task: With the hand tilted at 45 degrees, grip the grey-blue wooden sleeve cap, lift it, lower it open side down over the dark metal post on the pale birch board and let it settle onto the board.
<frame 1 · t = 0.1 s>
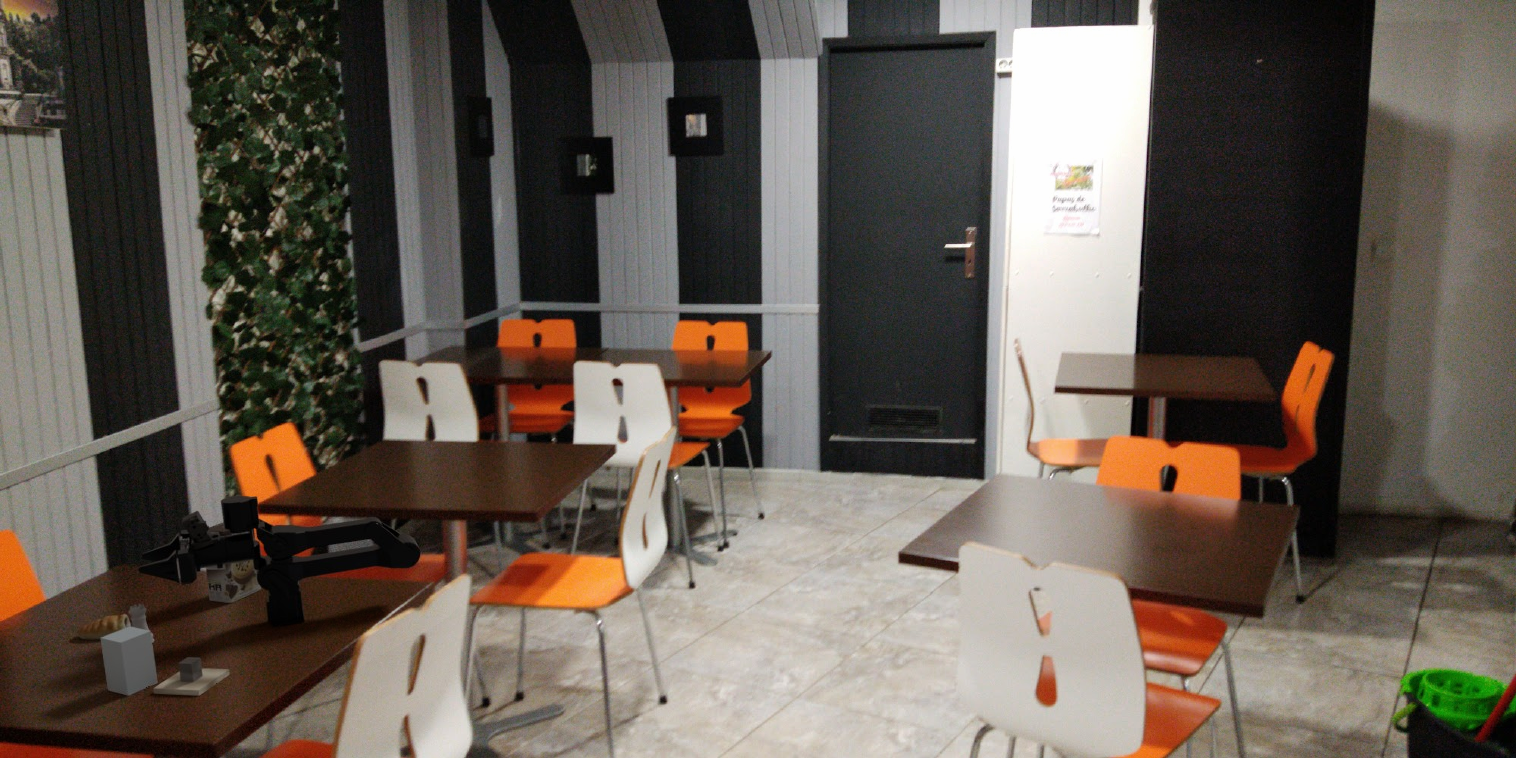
hand: (140, 563, 238), 17 cm above the table, tool horizontal, fingers open, 9 cm apart
pastry: (108, 635, 247), on the table
sleeve cap: (132, 686, 220), on the table
rook chess piece: (142, 645, 240), on the table
post board: (192, 683, 220), on the table
coffee box: (236, 596, 267), on the table
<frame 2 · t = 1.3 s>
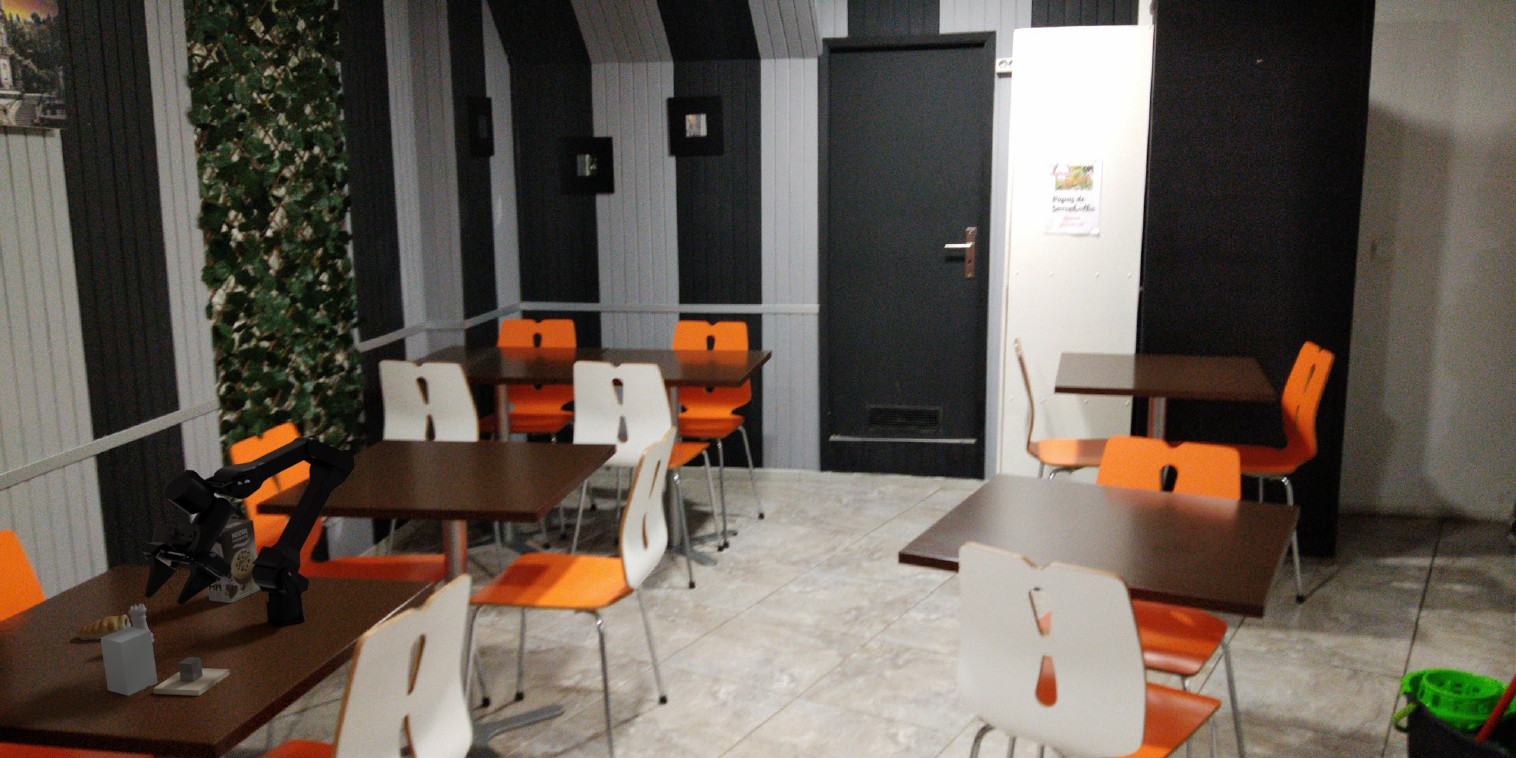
hand: (162, 600, 225), 14 cm above the table, tool tilted 45°, fingers open, 9 cm apart
nothing on the table moved.
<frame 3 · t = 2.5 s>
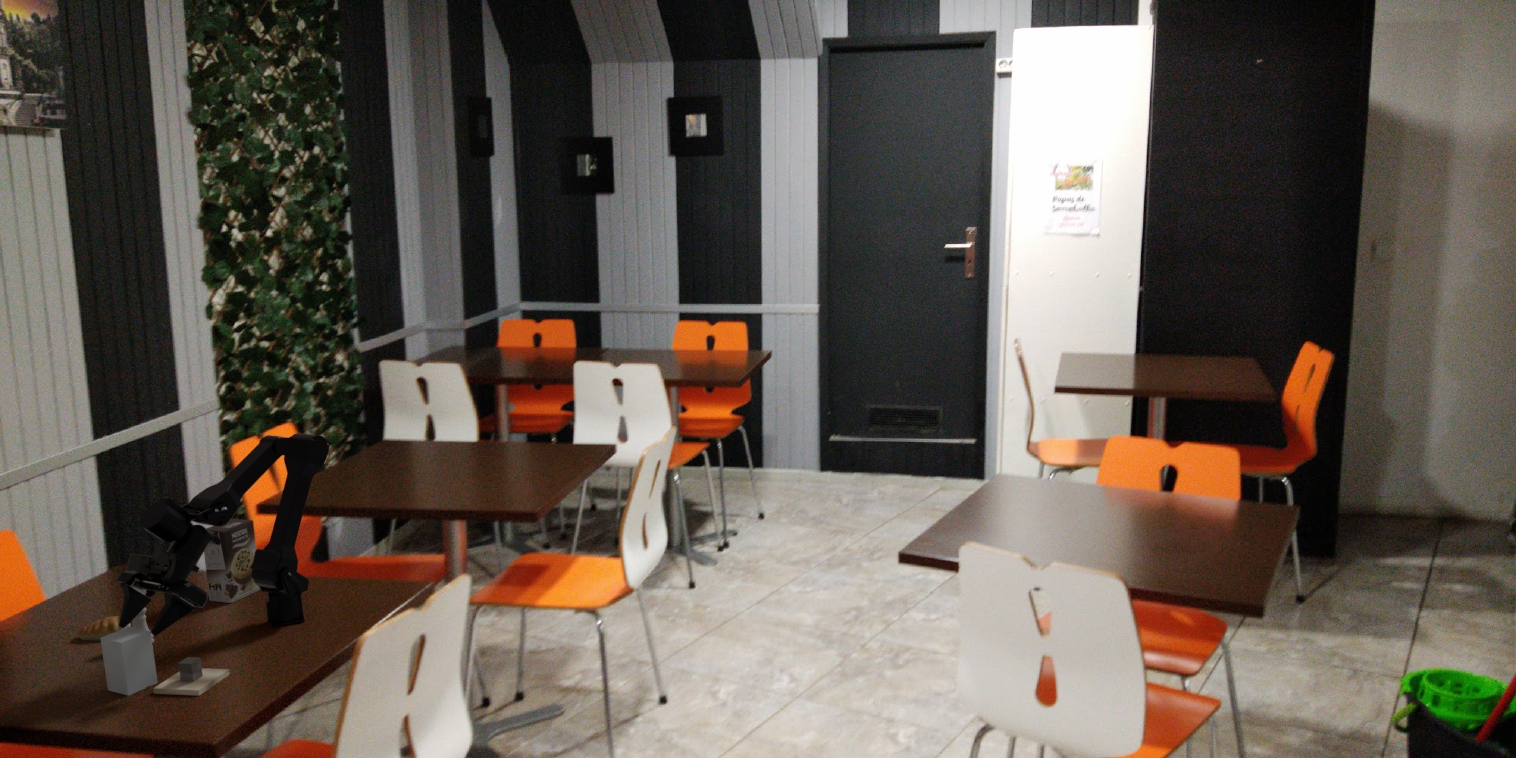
hand: (136, 630, 220), 10 cm above the table, tool tilted 45°, fingers open, 9 cm apart
nothing on the table moved.
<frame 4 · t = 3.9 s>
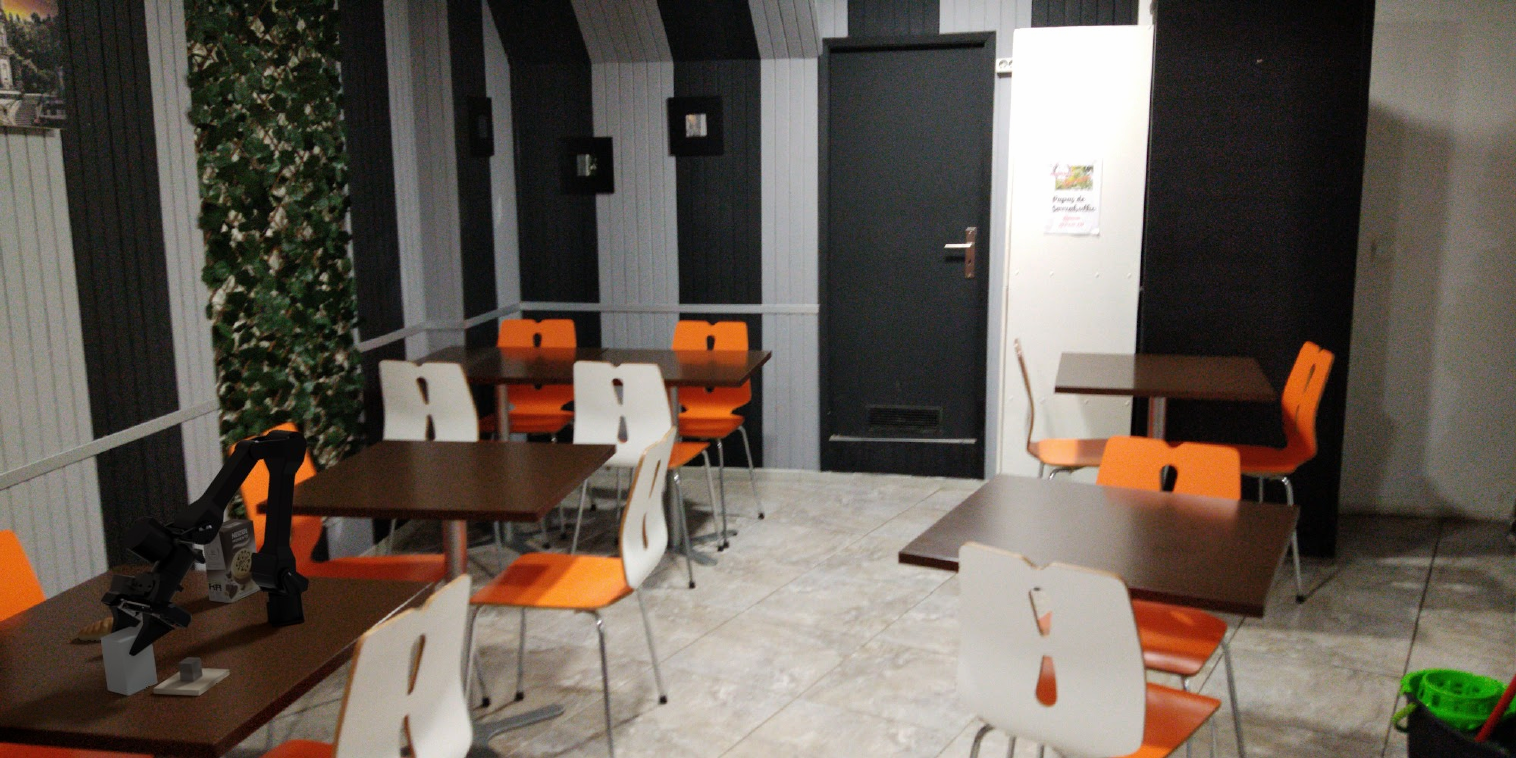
hand: (120, 652, 218), 7 cm above the table, tool tilted 45°, fingers closed on sleeve cap, 6 cm apart
sleeve cap: (132, 686, 220), on the table, touching gripper
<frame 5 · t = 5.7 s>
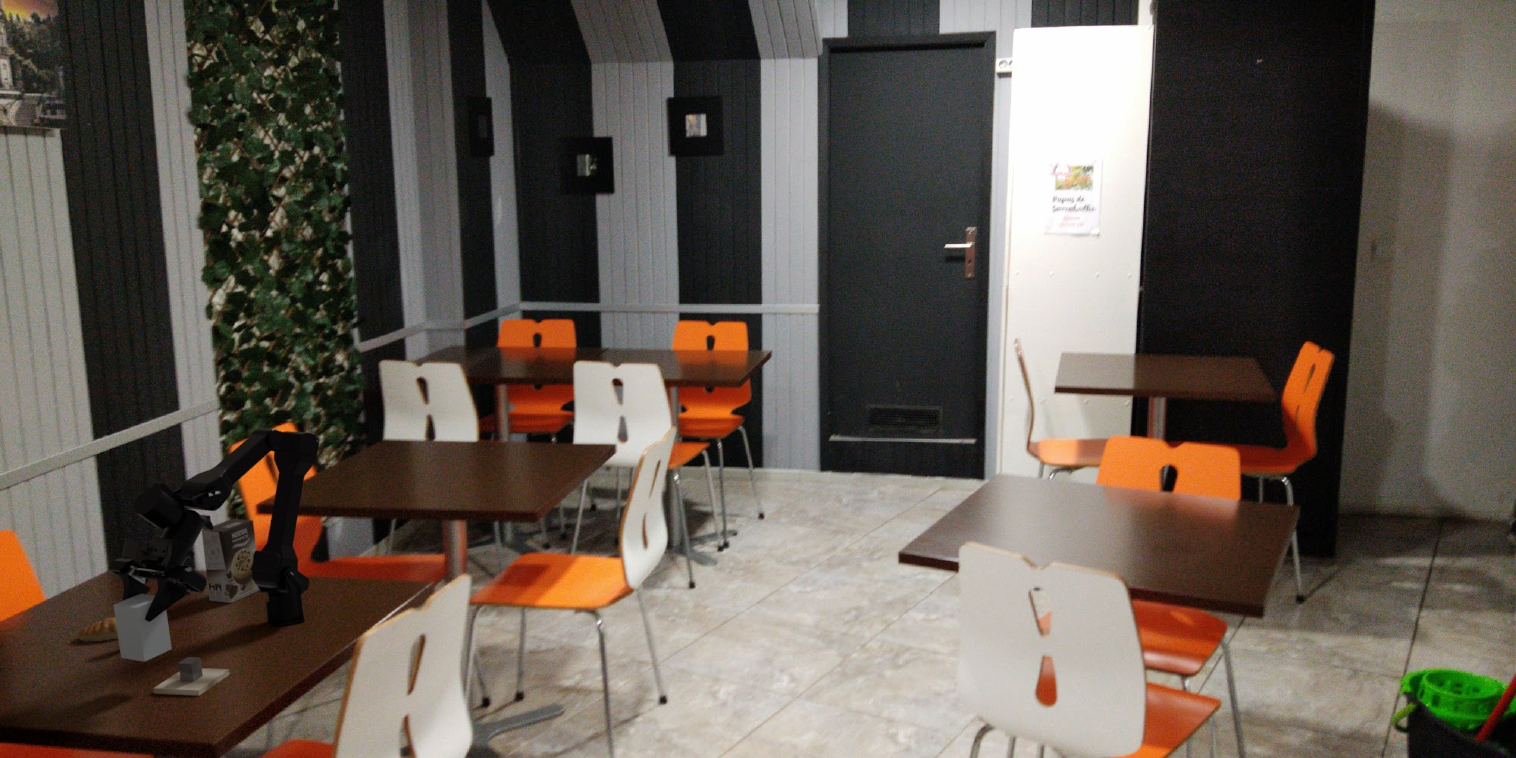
hand: (134, 618, 216), 13 cm above the table, tool tilted 45°, fingers closed on sleeve cap, 6 cm apart
sleeve cap: (146, 653, 219), point 6 cm above the table, touching gripper
when the fingers open (9 cm above the table, at t = 7.8 s): sleeve cap stays where it is, resting on post board.
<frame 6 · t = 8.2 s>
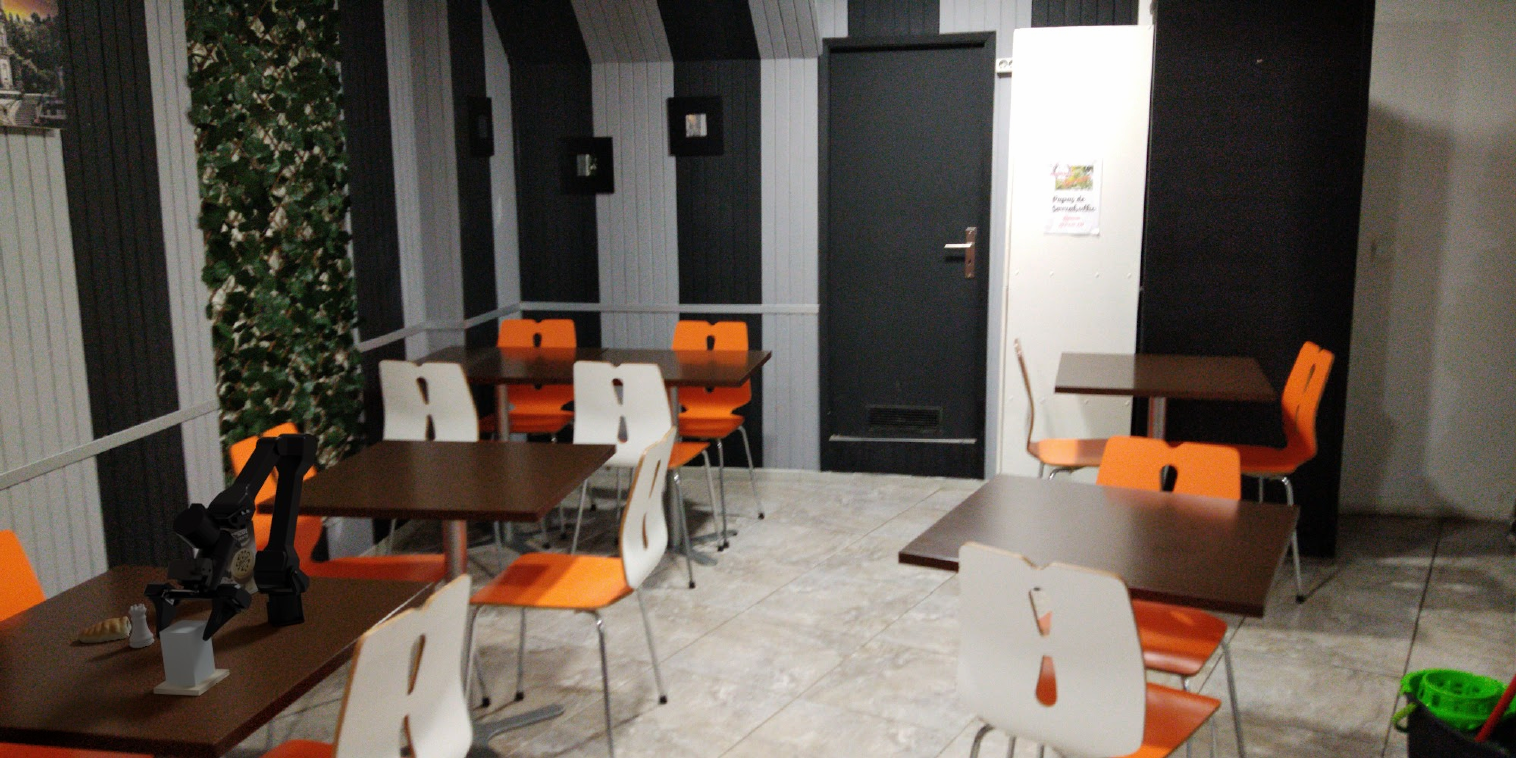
hand: (181, 639, 217), 9 cm above the table, tool tilted 45°, fingers open, 9 cm apart
sleeve cap: (191, 678, 220), point 1 cm above the table, touching post board
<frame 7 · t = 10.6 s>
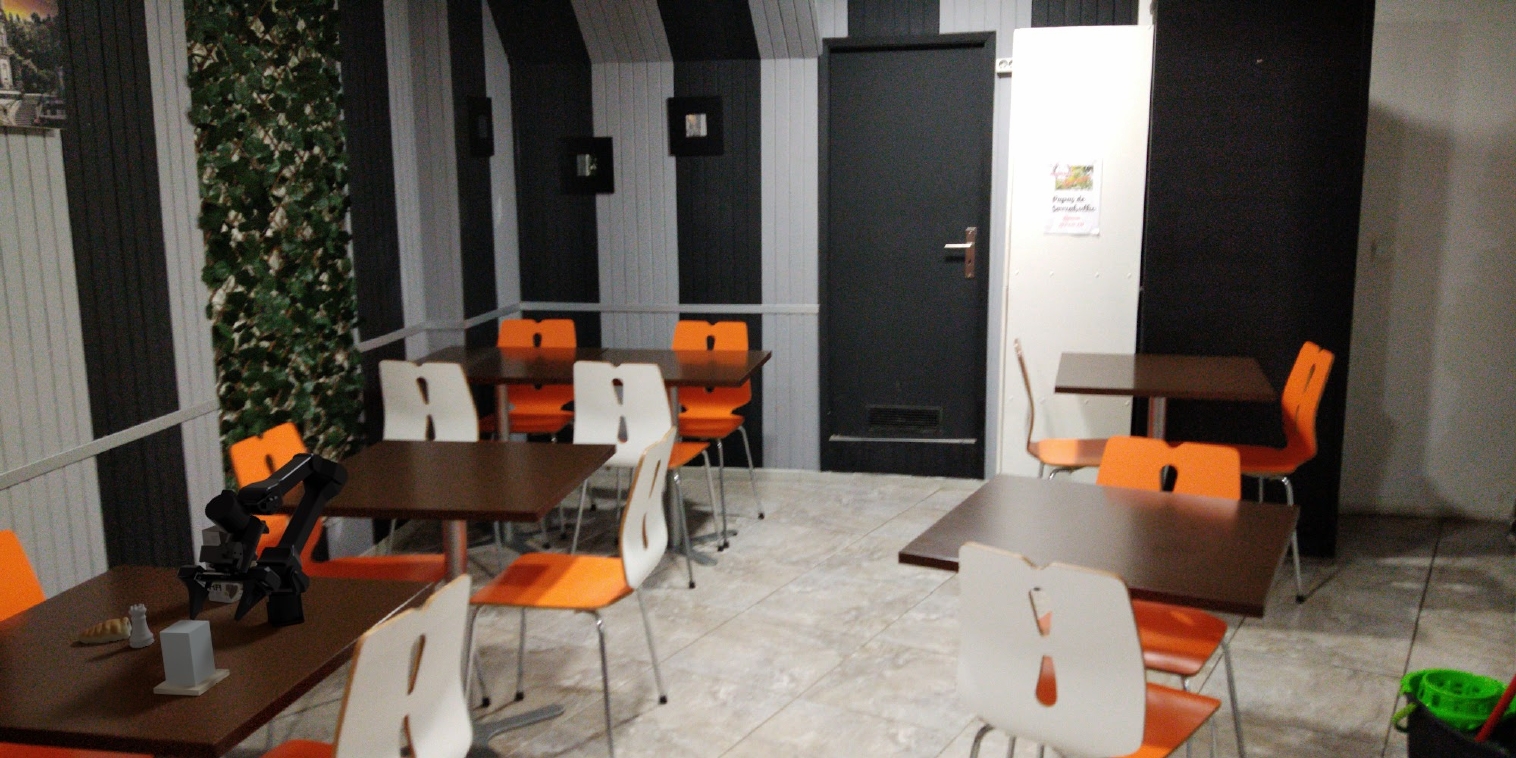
hand: (213, 620, 226), 9 cm above the table, tool tilted 45°, fingers open, 9 cm apart
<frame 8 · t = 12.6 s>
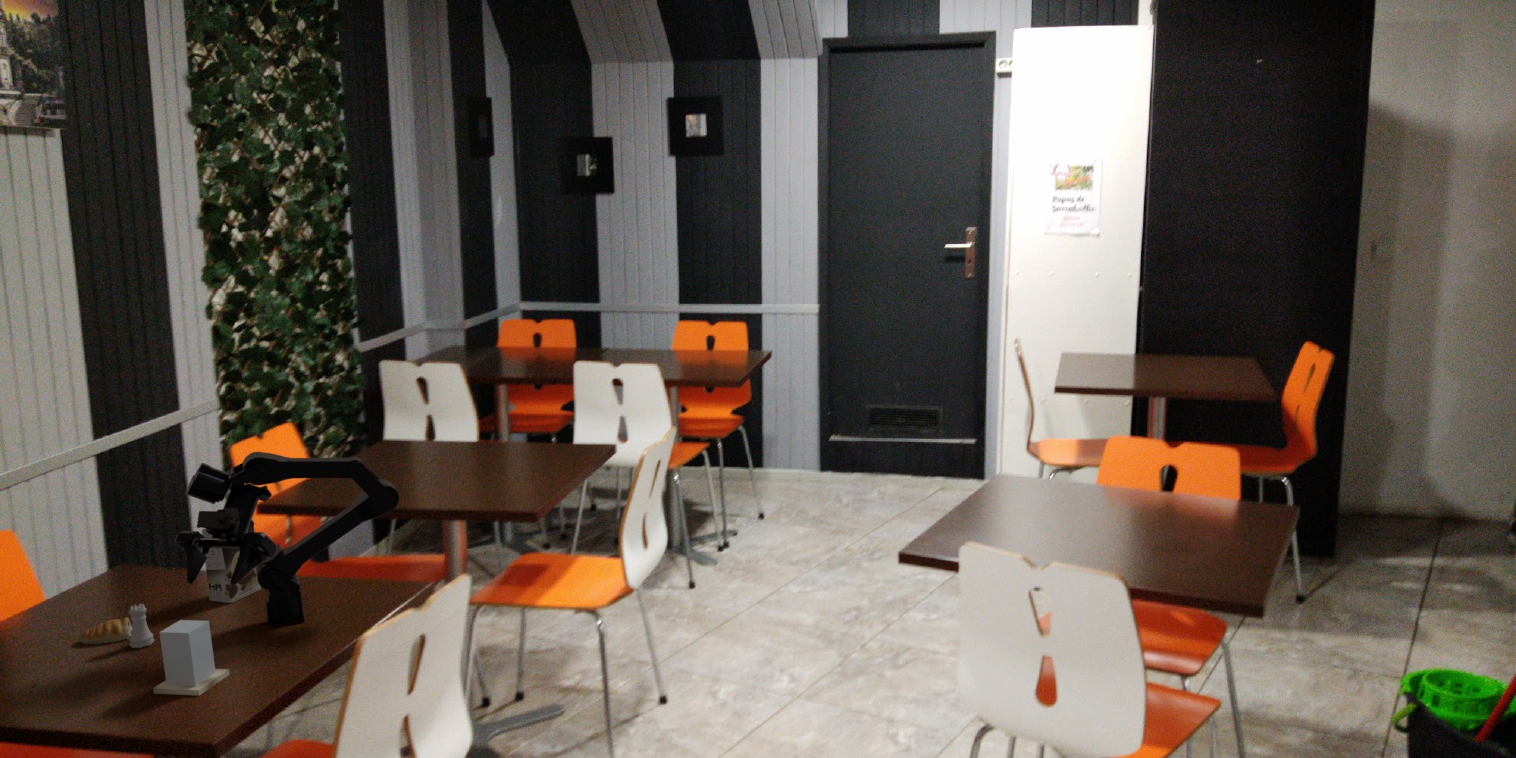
hand: (210, 583, 233), 14 cm above the table, tool tilted 45°, fingers open, 9 cm apart
at the end: sleeve cap 0.1 cm from the post board (horizontally); sleeve cap point 1.0 cm above the table; the gripper is holding nothing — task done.
